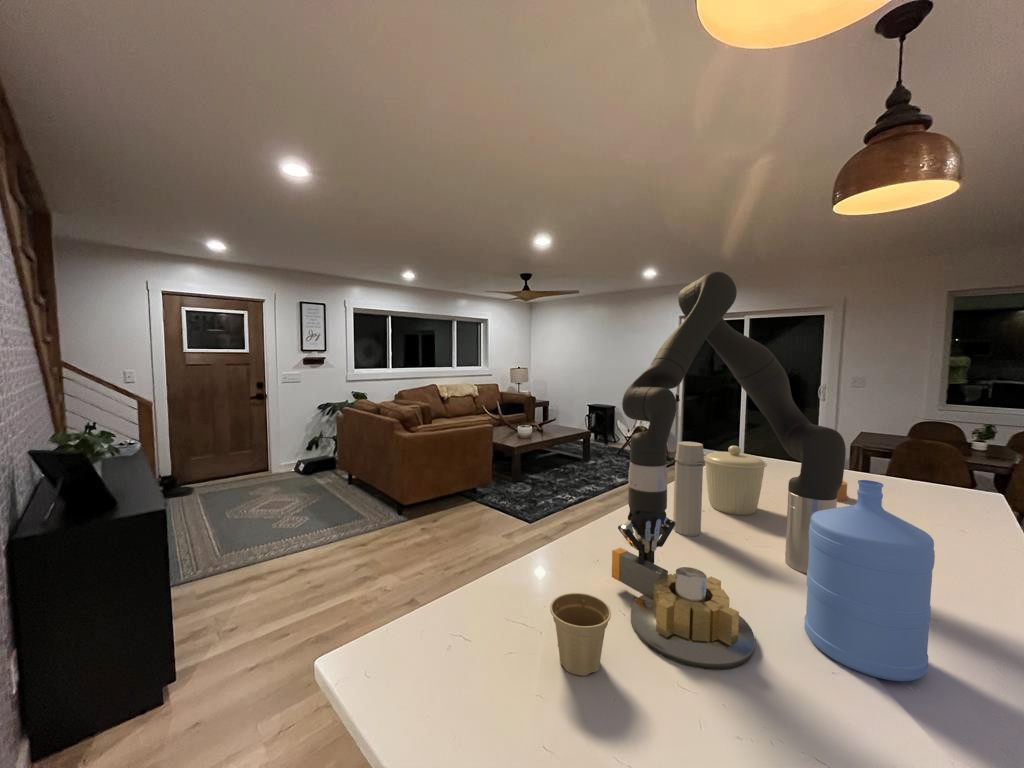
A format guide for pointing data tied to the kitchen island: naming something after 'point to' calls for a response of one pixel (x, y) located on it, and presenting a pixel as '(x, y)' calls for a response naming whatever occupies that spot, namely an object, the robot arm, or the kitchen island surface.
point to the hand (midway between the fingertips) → (646, 567)
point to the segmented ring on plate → (678, 601)
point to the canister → (734, 481)
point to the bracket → (842, 492)
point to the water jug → (870, 588)
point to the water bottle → (688, 488)
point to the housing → (688, 650)
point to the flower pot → (580, 630)
